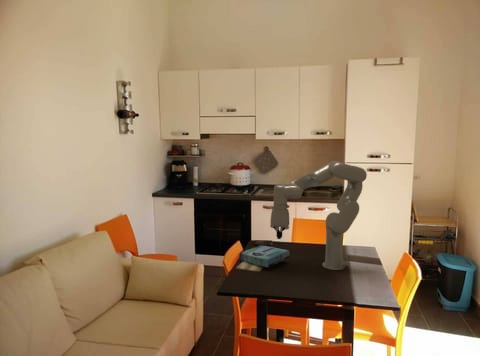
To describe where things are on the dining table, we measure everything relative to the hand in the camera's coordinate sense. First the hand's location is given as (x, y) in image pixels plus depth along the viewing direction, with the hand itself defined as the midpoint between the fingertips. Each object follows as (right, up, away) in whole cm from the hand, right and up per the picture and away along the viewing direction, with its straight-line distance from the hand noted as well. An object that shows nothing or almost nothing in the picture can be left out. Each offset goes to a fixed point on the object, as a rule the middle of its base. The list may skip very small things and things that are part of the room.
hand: (279, 238), depth 210 cm
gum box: (0, -12, +2) cm, 12 cm away
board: (-14, -16, +8) cm, 23 cm away
